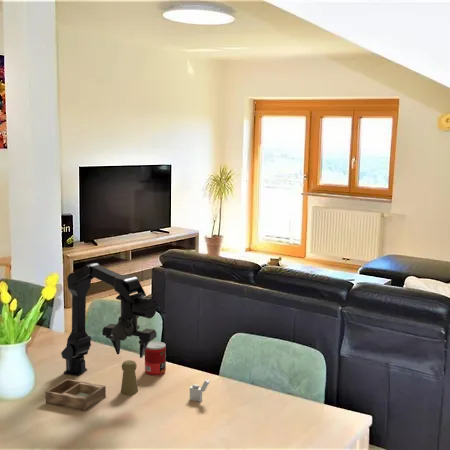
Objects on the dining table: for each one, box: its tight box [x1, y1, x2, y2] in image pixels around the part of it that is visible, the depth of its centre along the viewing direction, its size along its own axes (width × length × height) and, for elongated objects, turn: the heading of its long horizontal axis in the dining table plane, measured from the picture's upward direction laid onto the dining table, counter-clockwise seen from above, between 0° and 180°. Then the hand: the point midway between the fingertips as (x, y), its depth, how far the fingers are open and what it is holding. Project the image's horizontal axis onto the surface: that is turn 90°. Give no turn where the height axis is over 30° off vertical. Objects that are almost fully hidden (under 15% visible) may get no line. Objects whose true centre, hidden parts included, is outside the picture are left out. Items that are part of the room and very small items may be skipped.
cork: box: [120, 359, 139, 396], centre depth 217 cm, size 6×6×11 cm
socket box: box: [44, 378, 107, 412], centre depth 210 cm, size 16×12×4 cm
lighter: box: [189, 378, 211, 402], centre depth 210 cm, size 7×2×8 cm, turn 65°
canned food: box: [144, 340, 167, 377], centre depth 234 cm, size 8×8×11 cm
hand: (129, 355), depth 216 cm, fingers open, 9 cm apart
